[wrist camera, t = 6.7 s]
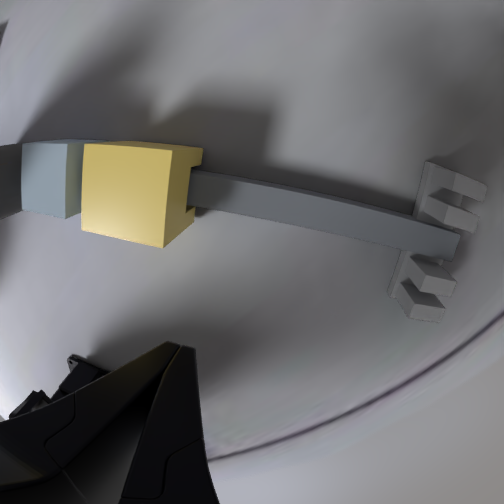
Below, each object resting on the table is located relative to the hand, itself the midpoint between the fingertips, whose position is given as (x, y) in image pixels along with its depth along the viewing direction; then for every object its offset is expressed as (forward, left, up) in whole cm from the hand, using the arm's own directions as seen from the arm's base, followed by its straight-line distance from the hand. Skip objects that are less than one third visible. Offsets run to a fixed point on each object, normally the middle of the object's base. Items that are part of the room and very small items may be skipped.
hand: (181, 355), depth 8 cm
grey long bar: (+3, +1, -12) cm, 12 cm away
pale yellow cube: (+3, +6, -12) cm, 13 cm away
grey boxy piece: (+3, -12, -12) cm, 17 cm away
